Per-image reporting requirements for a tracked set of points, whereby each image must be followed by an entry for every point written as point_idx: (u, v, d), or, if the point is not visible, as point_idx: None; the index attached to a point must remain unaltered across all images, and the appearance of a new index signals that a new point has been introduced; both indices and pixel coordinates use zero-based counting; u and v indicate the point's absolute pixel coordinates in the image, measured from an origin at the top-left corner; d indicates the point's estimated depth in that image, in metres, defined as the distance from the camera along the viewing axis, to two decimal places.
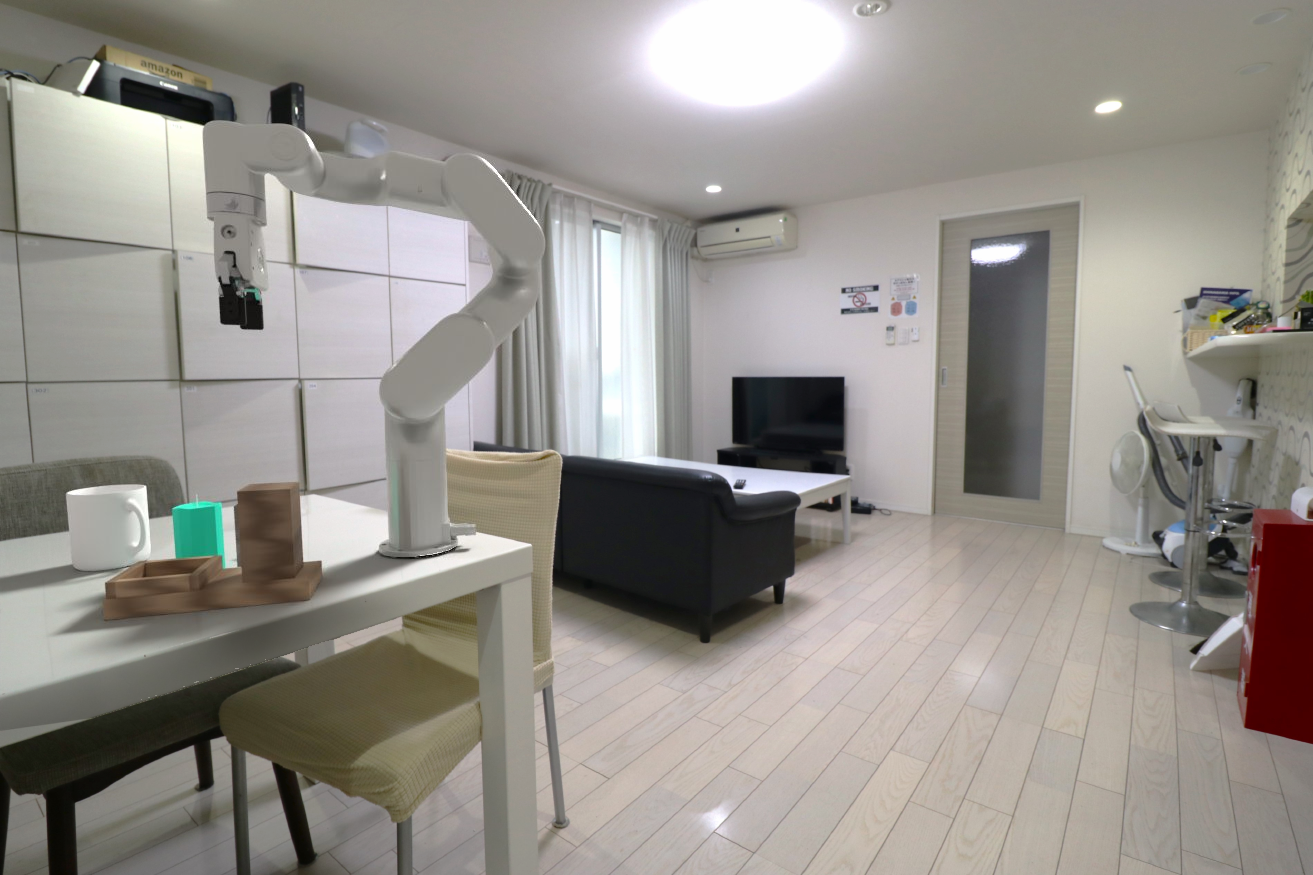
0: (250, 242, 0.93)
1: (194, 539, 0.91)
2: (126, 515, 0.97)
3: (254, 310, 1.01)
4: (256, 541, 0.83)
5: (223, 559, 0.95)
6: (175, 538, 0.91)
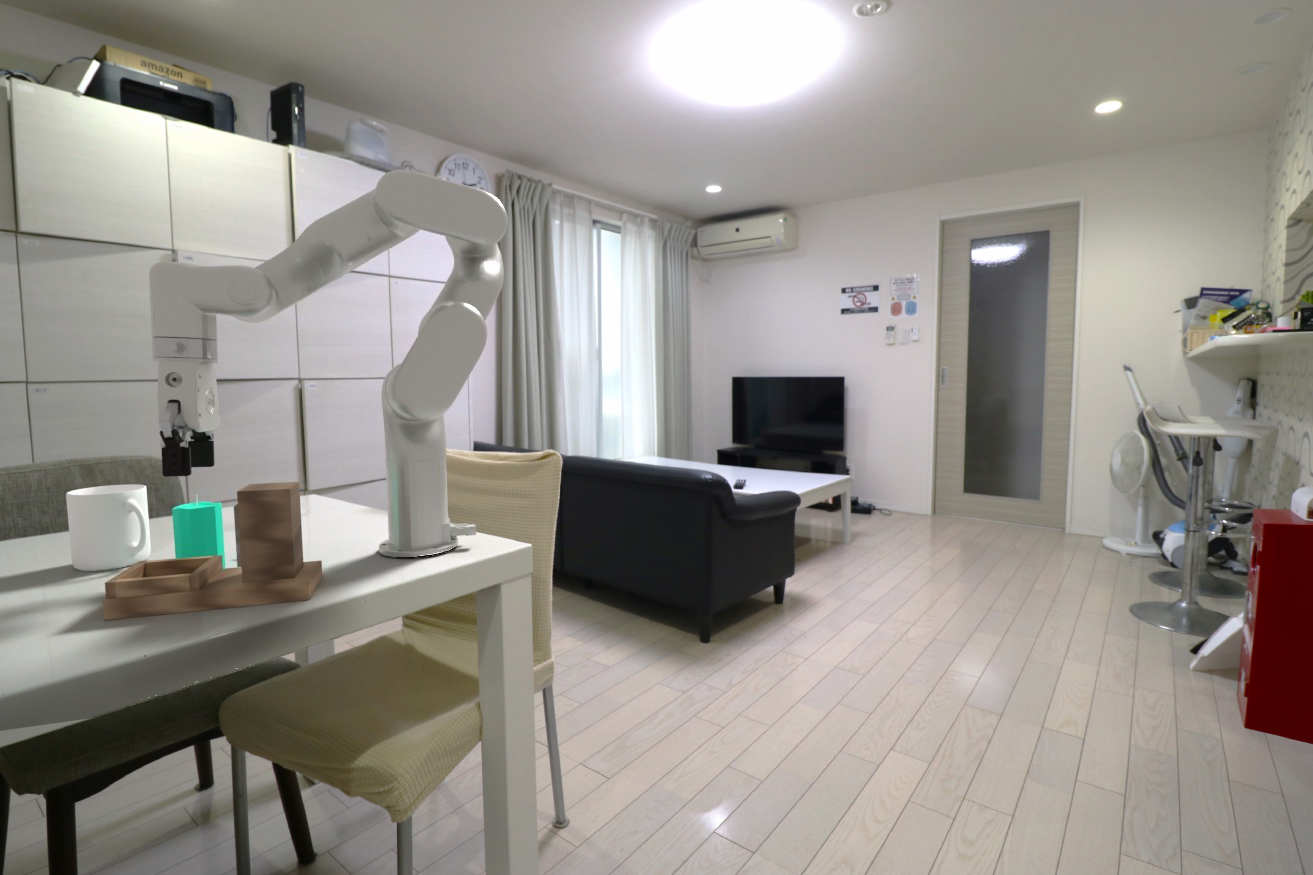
0: (196, 389, 0.88)
1: (194, 540, 0.91)
2: (126, 515, 0.97)
3: (204, 447, 0.97)
4: (256, 541, 0.83)
5: (223, 559, 0.95)
6: (175, 538, 0.91)
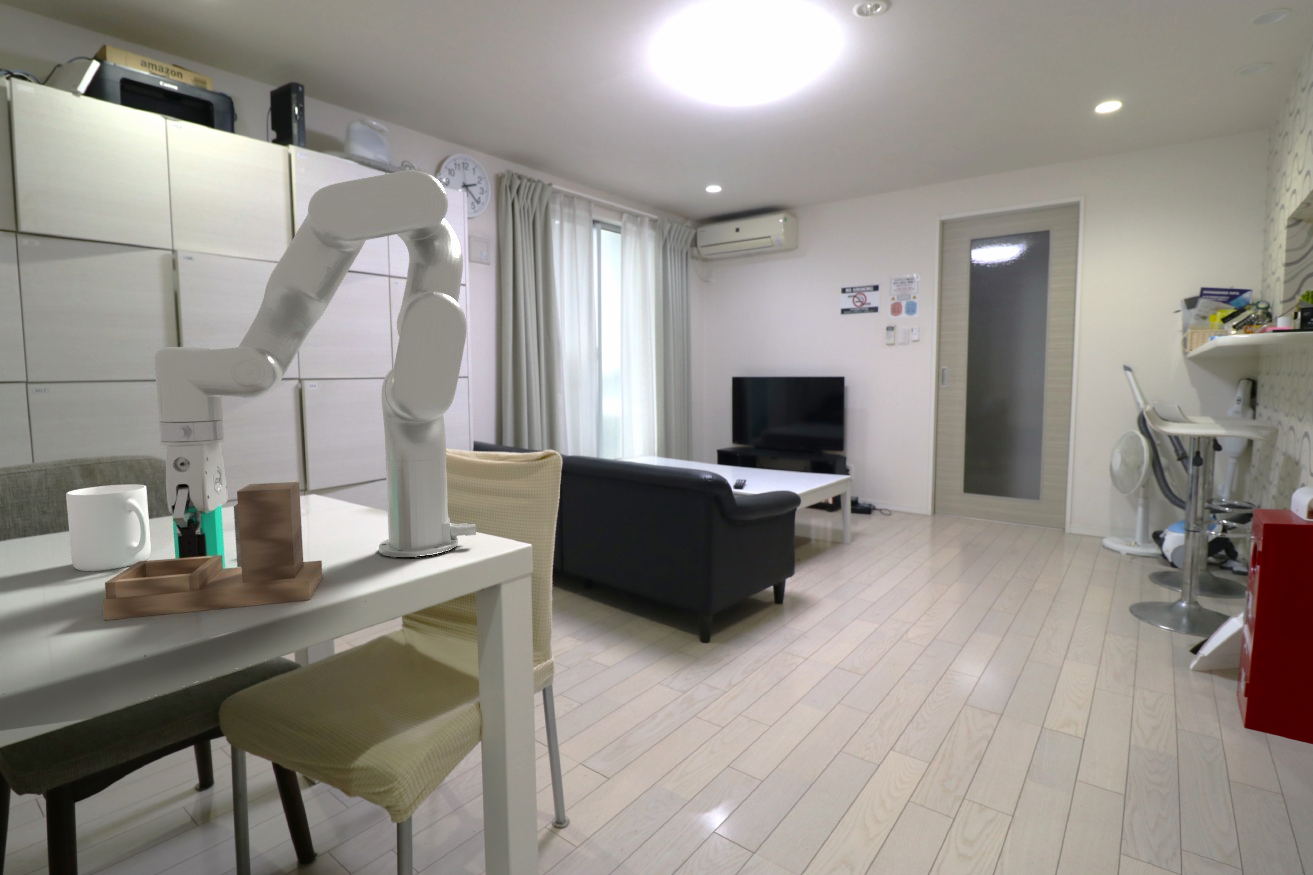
0: (204, 472, 0.90)
1: None
2: (126, 515, 0.97)
3: None
4: (256, 541, 0.83)
5: (223, 559, 0.95)
6: (175, 538, 0.91)
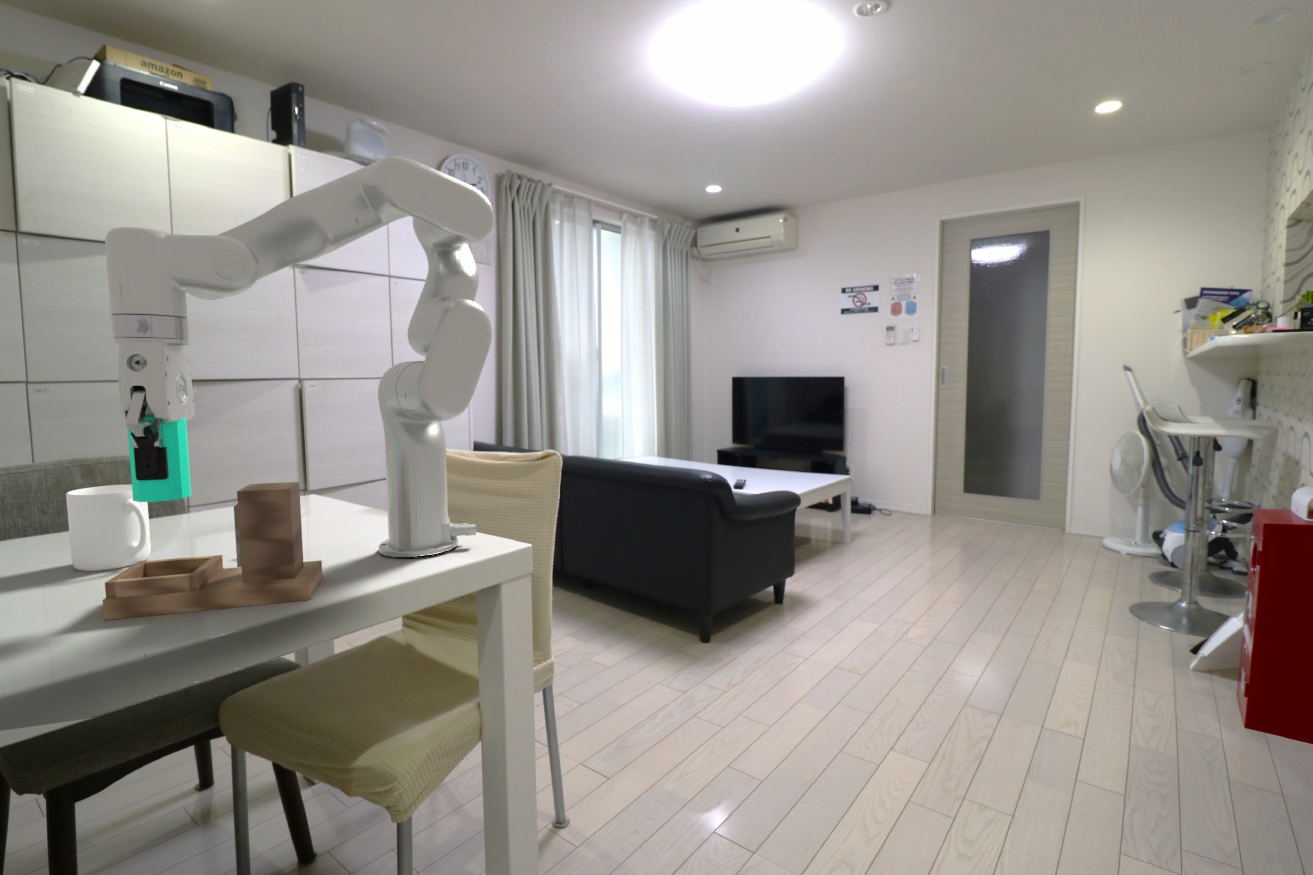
0: (164, 373, 0.77)
1: None
2: (126, 515, 0.97)
3: None
4: (256, 541, 0.83)
5: (187, 480, 0.82)
6: (130, 452, 0.79)
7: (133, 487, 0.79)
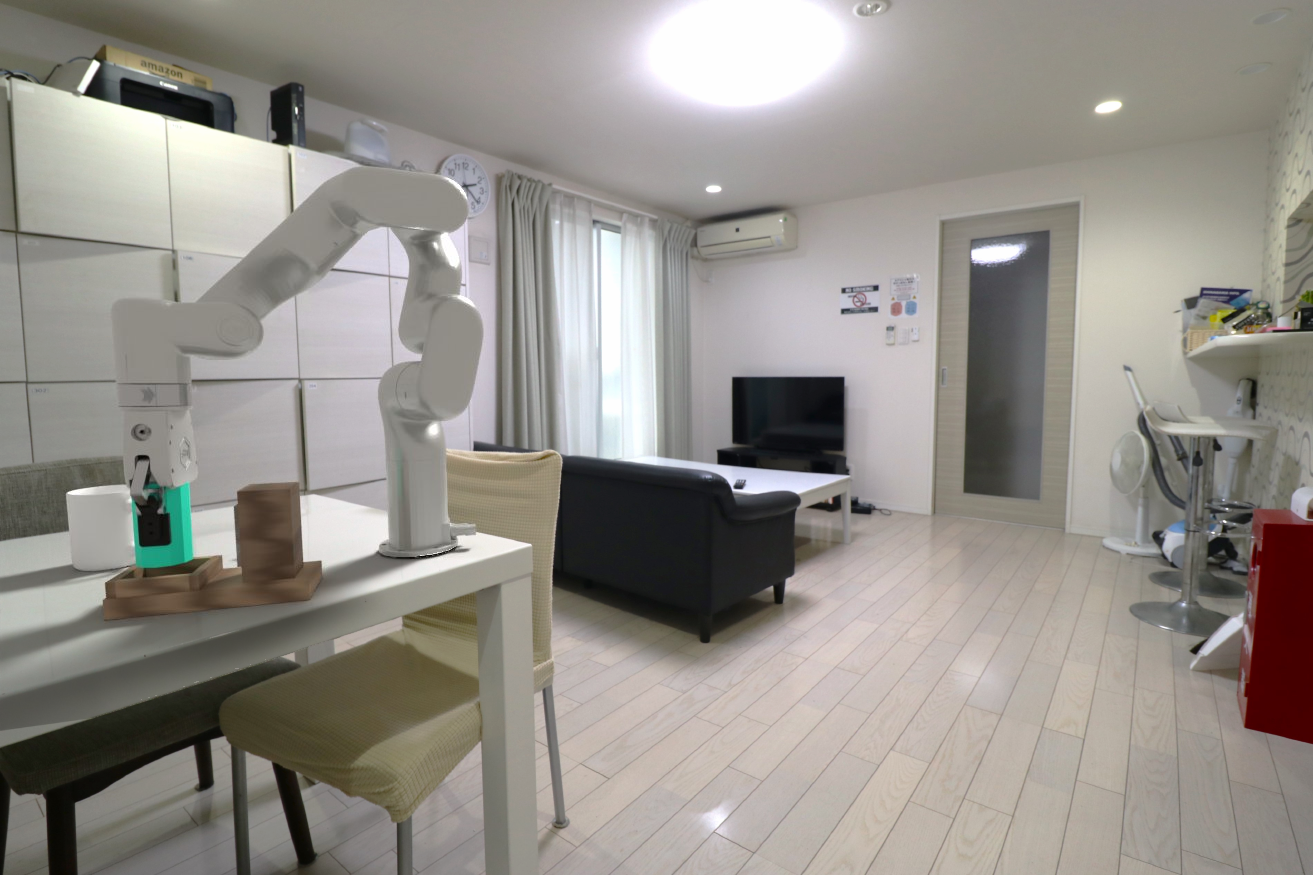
0: (168, 441, 0.78)
1: None
2: (126, 515, 0.97)
3: None
4: (256, 541, 0.83)
5: (190, 543, 0.83)
6: (134, 518, 0.79)
7: (136, 553, 0.80)
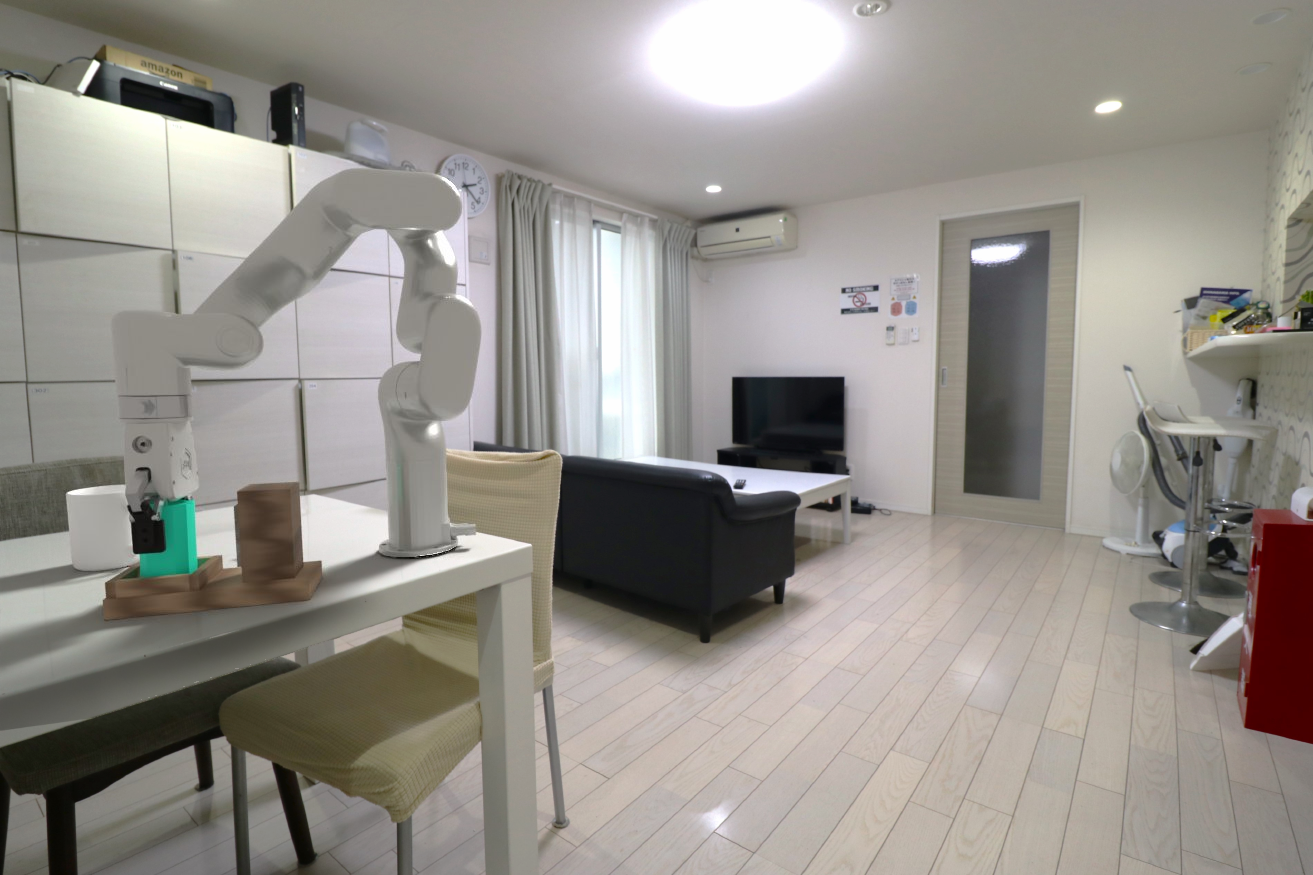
0: (169, 453, 0.78)
1: None
2: (126, 515, 0.97)
3: None
4: (256, 541, 0.83)
5: (195, 564, 0.83)
6: None
7: (141, 574, 0.80)
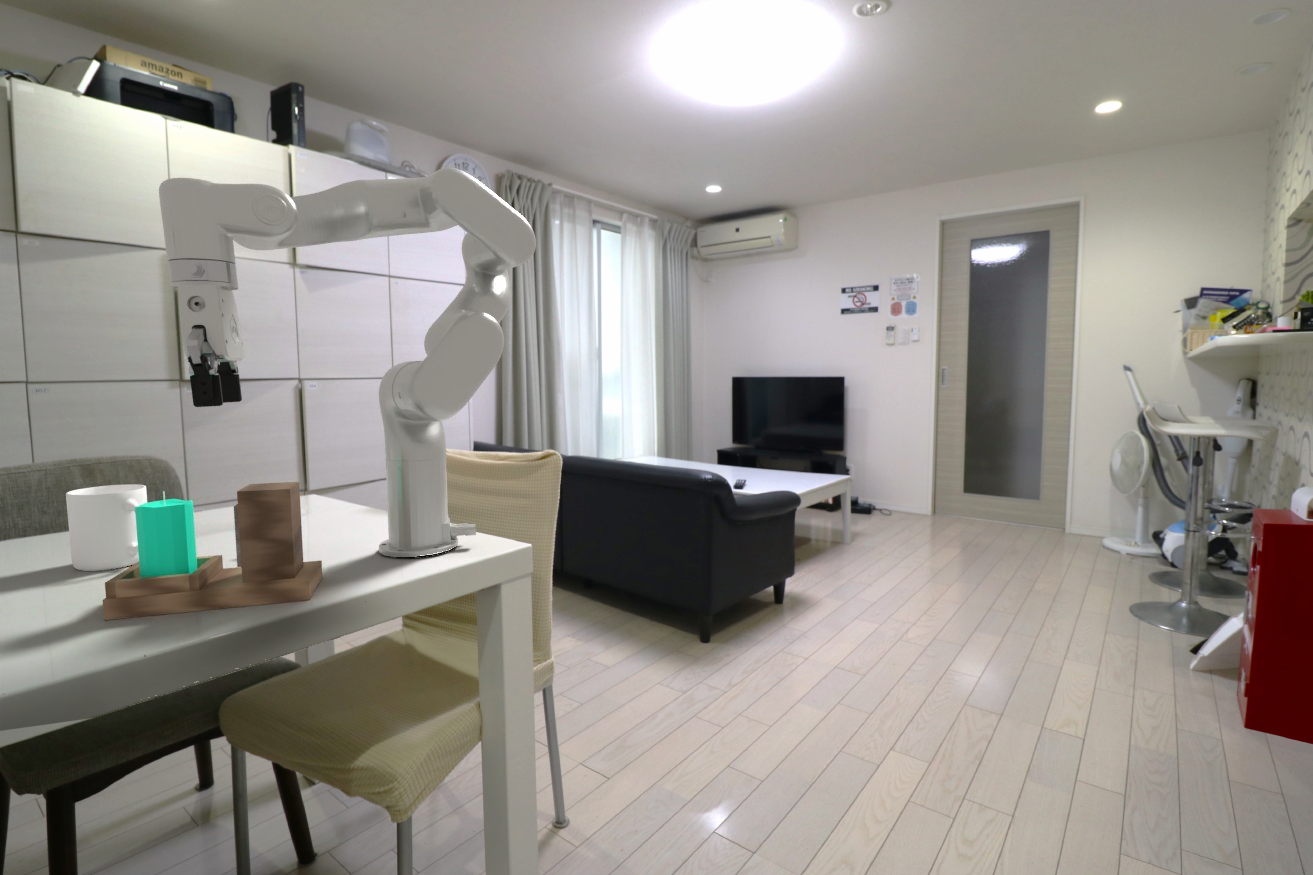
0: (221, 313, 0.84)
1: (160, 542, 0.80)
2: (126, 515, 0.97)
3: (230, 381, 0.92)
4: (256, 541, 0.83)
5: (195, 564, 0.83)
6: (139, 541, 0.80)
7: (141, 575, 0.80)
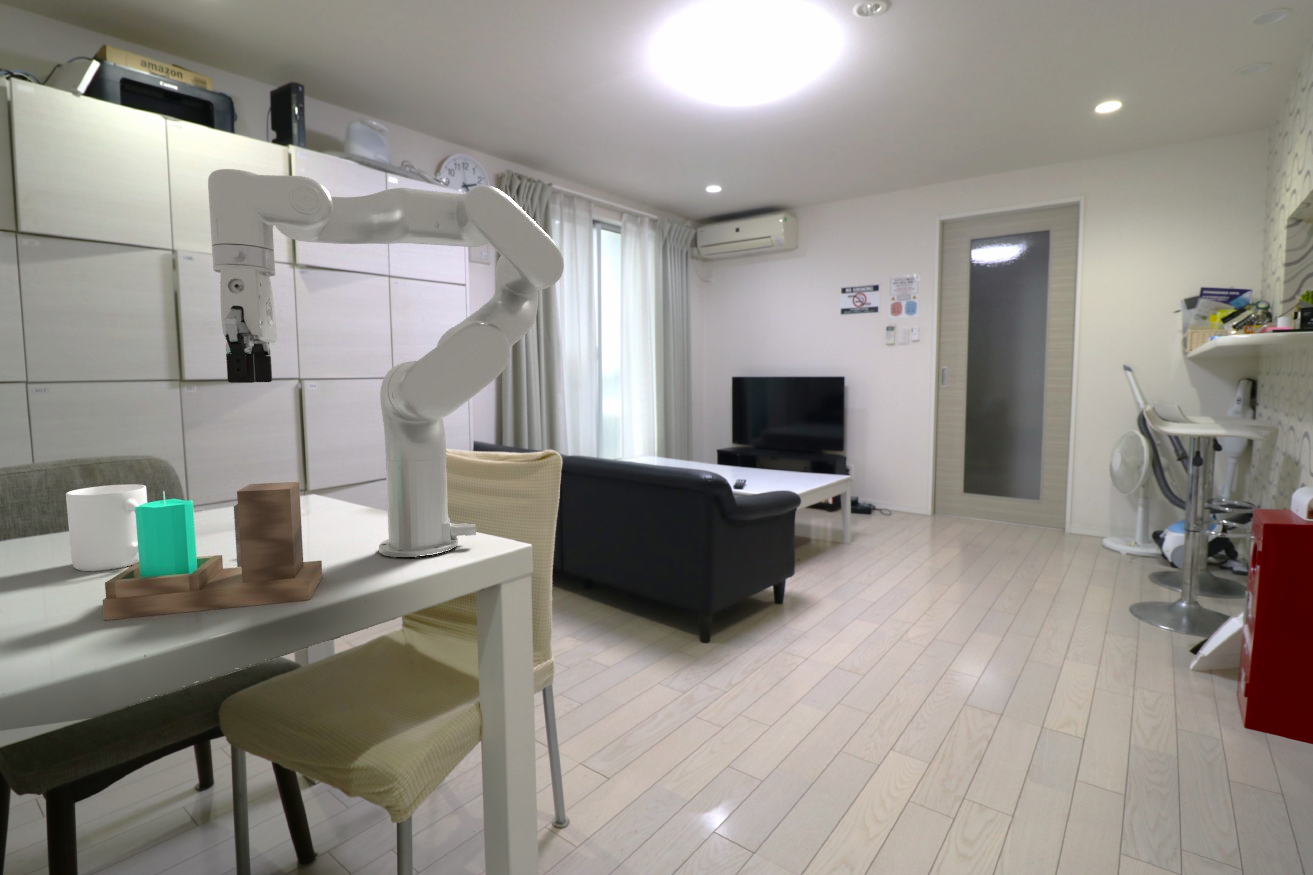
0: (258, 296, 0.89)
1: (160, 542, 0.80)
2: (126, 515, 0.97)
3: (262, 362, 0.97)
4: (256, 541, 0.83)
5: (195, 564, 0.83)
6: (139, 541, 0.80)
7: (141, 575, 0.80)
